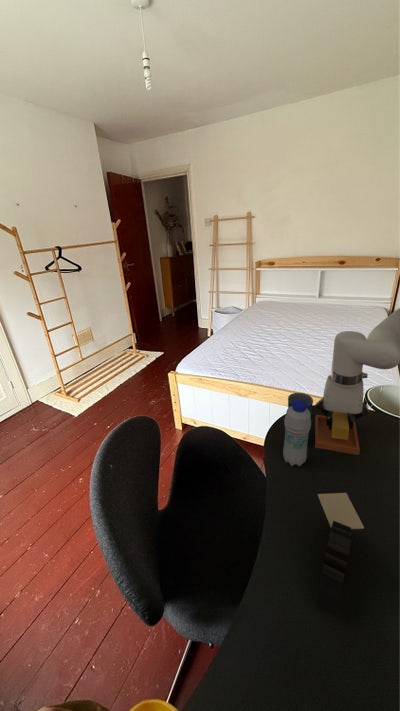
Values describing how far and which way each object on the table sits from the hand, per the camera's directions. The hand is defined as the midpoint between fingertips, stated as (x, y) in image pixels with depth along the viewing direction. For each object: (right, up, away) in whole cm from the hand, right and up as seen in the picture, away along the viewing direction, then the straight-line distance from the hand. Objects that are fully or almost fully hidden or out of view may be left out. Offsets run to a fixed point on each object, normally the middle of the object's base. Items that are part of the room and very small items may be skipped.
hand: (338, 427), depth 89 cm
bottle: (-15, -8, -6) cm, 18 cm away
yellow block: (0, -1, 0) cm, 1 cm away
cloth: (-9, -14, -20) cm, 27 cm away
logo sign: (-16, -20, -31) cm, 41 cm away
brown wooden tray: (0, -3, +2) cm, 3 cm away
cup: (-12, -4, +1) cm, 13 cm away
